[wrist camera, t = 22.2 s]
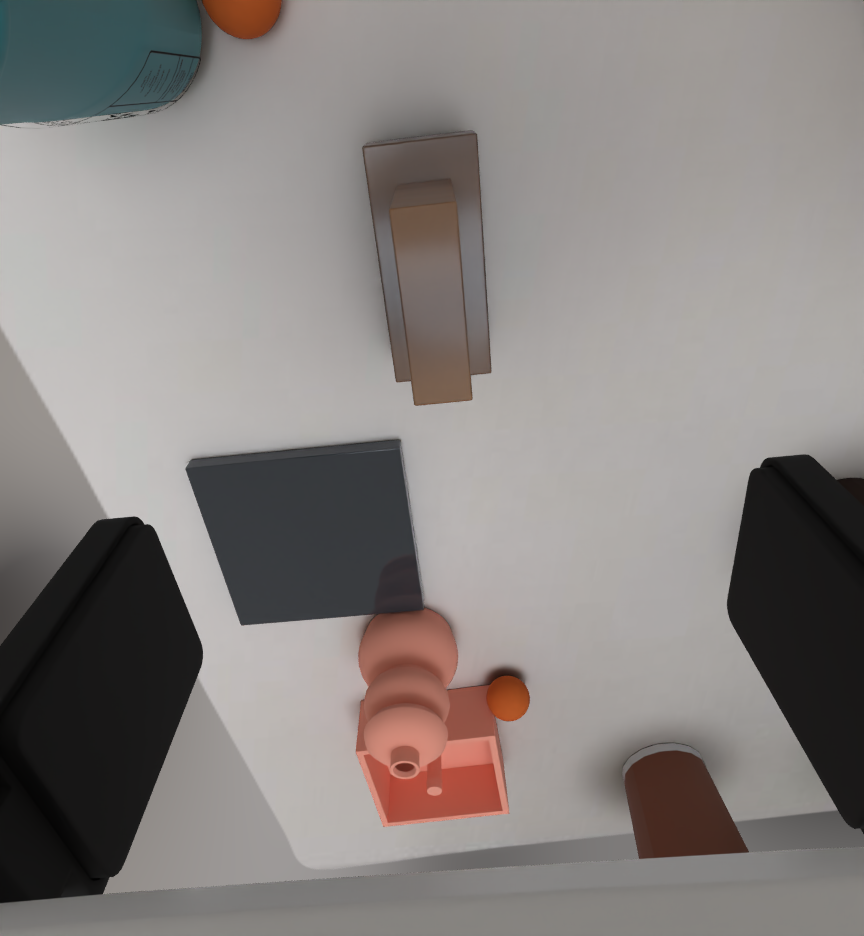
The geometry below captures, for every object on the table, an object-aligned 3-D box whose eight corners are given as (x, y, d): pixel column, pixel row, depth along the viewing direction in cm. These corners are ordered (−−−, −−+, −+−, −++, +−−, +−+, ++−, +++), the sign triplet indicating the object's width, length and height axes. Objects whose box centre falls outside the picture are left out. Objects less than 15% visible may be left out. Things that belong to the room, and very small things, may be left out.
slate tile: (190, 459, 36) (184, 468, 35) (400, 439, 35) (399, 447, 35) (244, 615, 42) (240, 625, 41) (424, 599, 42) (424, 610, 41)
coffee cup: (715, 721, 48) (794, 894, 38) (724, 790, 53) (797, 961, 42) (596, 745, 49) (641, 918, 39) (614, 810, 54) (659, 980, 44)
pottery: (503, 761, 50) (518, 896, 42) (386, 774, 51) (378, 910, 43) (472, 592, 41) (484, 721, 33) (330, 611, 42) (306, 742, 34)
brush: (369, 140, 28) (344, 161, 20) (471, 127, 28) (490, 144, 19) (398, 355, 33) (389, 444, 25) (485, 346, 33) (505, 433, 24)
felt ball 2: (513, 680, 47) (478, 676, 46) (537, 675, 44) (501, 670, 43) (514, 724, 45) (478, 720, 44) (539, 721, 43) (501, 717, 42)
